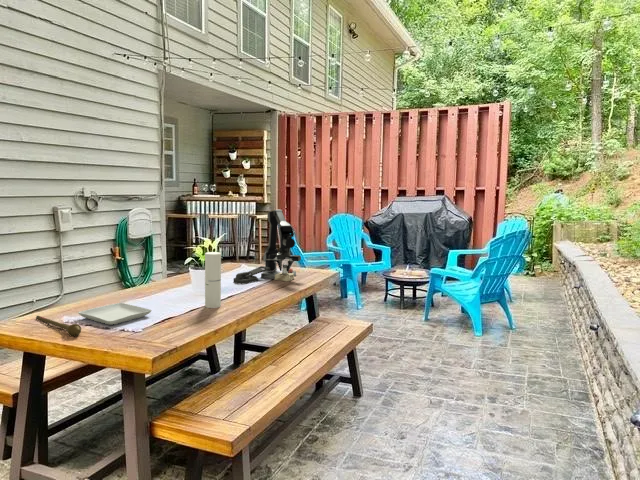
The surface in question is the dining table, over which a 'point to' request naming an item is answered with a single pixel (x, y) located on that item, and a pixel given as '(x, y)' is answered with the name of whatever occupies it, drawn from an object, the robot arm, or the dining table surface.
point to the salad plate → (115, 313)
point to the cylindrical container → (212, 279)
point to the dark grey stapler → (249, 275)
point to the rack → (284, 277)
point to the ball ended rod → (63, 326)
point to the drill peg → (285, 269)
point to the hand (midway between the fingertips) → (284, 271)
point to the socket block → (272, 274)
